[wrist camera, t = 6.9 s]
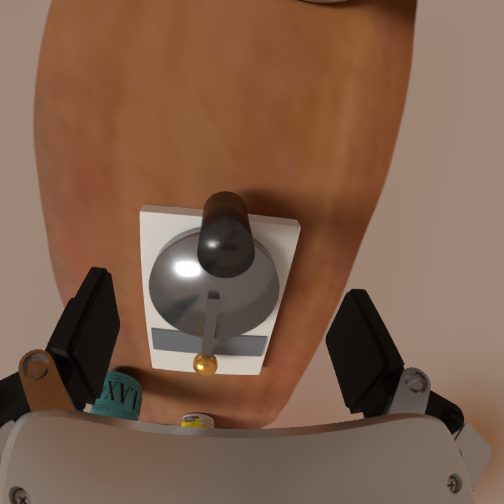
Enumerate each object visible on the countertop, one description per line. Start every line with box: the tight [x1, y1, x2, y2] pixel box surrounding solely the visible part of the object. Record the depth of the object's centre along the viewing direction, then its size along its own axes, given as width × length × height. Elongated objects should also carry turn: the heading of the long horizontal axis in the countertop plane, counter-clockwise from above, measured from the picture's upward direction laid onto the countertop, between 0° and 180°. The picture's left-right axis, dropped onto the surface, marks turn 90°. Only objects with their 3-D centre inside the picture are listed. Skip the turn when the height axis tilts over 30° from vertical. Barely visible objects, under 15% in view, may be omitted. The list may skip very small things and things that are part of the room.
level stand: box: [140, 205, 301, 375], centre depth 28 cm, size 20×13×2 cm, turn 171°
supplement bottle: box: [181, 413, 214, 429], centre depth 37 cm, size 6×6×10 cm
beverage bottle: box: [90, 371, 143, 421], centre depth 26 cm, size 6×7×20 cm
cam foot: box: [149, 191, 280, 376], centre depth 23 cm, size 19×11×7 cm, turn 169°
